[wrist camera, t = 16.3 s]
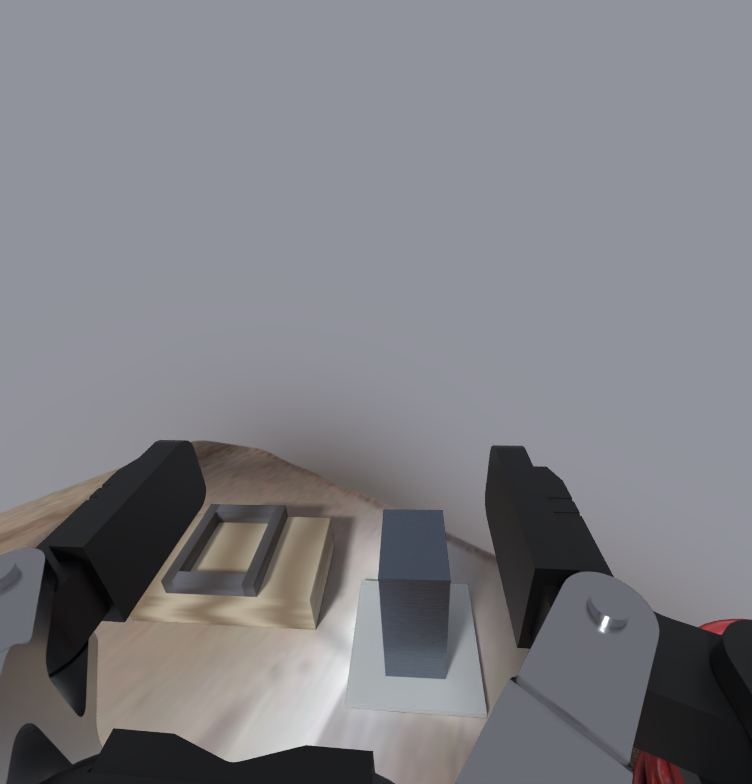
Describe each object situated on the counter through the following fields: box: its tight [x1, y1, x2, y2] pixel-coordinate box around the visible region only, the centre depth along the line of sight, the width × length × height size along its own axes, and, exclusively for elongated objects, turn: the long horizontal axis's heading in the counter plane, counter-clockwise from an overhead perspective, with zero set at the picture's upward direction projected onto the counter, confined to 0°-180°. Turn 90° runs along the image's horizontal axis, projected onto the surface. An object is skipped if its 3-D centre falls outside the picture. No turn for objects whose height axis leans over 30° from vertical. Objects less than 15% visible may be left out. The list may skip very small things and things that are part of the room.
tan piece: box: [130, 504, 334, 629], centre depth 37 cm, size 17×9×6 cm, turn 85°
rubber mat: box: [345, 580, 487, 718], centre depth 32 cm, size 10×10×1 cm
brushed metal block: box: [378, 510, 451, 679], centre depth 29 cm, size 4×6×11 cm
